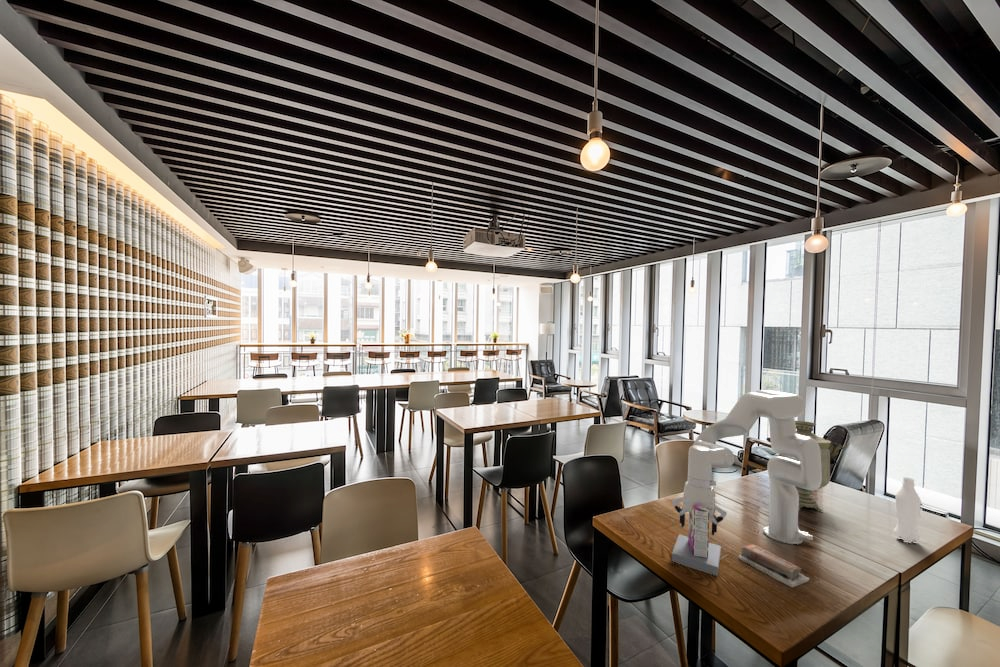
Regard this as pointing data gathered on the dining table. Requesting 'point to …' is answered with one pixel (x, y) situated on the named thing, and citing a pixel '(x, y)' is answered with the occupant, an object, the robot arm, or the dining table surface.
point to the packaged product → (773, 565)
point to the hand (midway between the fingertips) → (697, 529)
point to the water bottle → (907, 511)
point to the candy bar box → (699, 531)
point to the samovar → (824, 444)
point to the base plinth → (685, 557)
